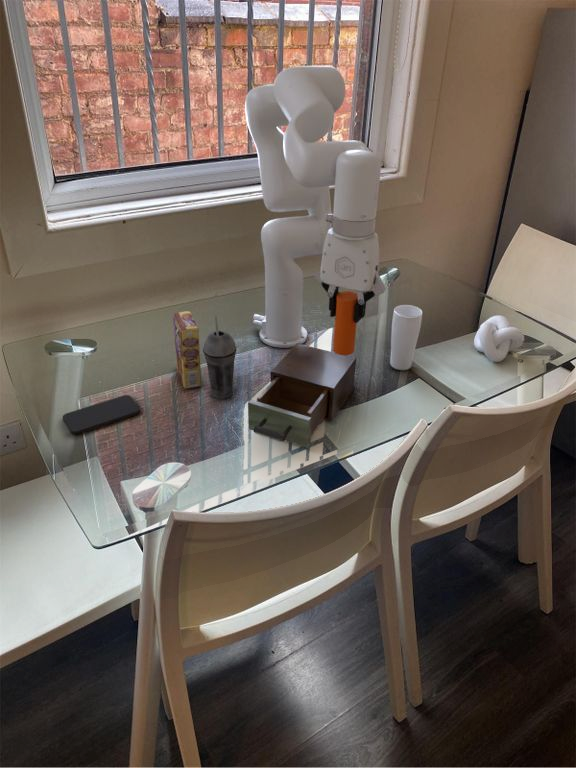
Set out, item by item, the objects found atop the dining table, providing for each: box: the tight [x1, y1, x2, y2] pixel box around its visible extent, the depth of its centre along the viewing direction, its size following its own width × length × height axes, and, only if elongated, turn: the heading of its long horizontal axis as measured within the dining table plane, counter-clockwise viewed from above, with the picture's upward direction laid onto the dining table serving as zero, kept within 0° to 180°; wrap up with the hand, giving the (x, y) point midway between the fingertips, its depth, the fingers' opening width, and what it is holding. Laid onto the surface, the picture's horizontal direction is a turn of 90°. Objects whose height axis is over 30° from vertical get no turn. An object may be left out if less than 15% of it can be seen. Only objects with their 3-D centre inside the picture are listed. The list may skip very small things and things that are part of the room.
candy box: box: [172, 311, 202, 389], centre depth 138 cm, size 9×4×15 cm, turn 20°
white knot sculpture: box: [473, 314, 525, 363], centre depth 152 cm, size 11×12×9 cm
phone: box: [62, 394, 141, 435], centre depth 129 cm, size 7×1×15 cm
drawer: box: [247, 376, 330, 449], centre depth 124 cm, size 17×13×7 cm
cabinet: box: [270, 343, 357, 422], centre depth 134 cm, size 14×15×9 cm
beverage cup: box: [202, 315, 238, 400], centre depth 131 cm, size 7×7×20 cm
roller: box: [332, 290, 358, 356], centre depth 118 cm, size 4×4×12 cm
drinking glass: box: [389, 304, 423, 371], centre depth 144 cm, size 7×7×15 cm
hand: (346, 316), depth 117 cm, fingers closed on roller, 4 cm apart
